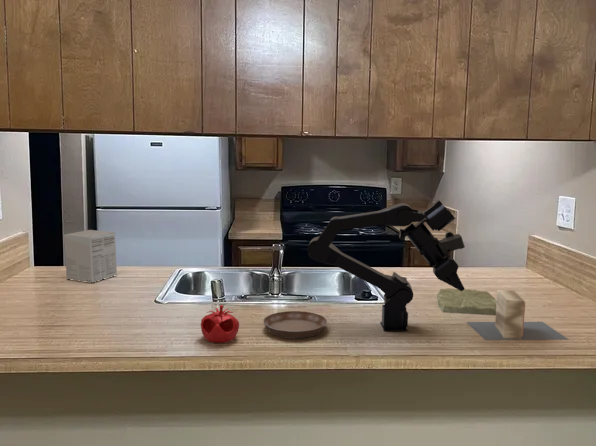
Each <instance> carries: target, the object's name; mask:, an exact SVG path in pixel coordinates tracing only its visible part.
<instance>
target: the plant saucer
mask: <svg viewBox="0 0 596 446" xmlns="http://www.w3.org/2000/svg"><path fill="white" fill-rule="evenodd" d="M262 321H263V324H264V326H265V328H266V329H267V330H268V331H269V332H270V333H271V334H272V335H274V336H276V335H277V337H279V336H280V338H284V337H285V339H306V337H307V338H311V337H313V336H316V335H318V334H319V333H321V331H322V330H323V329H324V328H325V326H326V324H327V318H325V316H322V315H321V314H318V313H315V312H310V311H301V310H288V311H287V310H286V311H281V312H280V311H279V312H276V313H272V314H268V315H267V316H266V317H265V316H264V318H263V320H262Z"/></svg>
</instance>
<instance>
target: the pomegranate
mask: <svg viewBox="0 0 596 446" xmlns="http://www.w3.org/2000/svg"><path fill="white" fill-rule="evenodd" d="M223 309H224V304H223V305H219V308H218V307H217V308H215V311H216V312H215V311H213V310H210V311H208V312H206V314H207V313H208V314H207V315H205V316H203V317H202V318H201V321H200V328H201V333H202V335H203V337H204V339H205V341H207V342H209V343H211V342H213V343H212V344H218V343H219V344H225V342H227V343H229V342H232V341H234V340H235V338H236V337H237V334H238V332H239V329H240V322H239V320H238V319H237V318H236V317H235V316H233V315H232V314H233V311H230V310H228V308H225V309H224V310H223ZM215 342H216V343H215Z"/></svg>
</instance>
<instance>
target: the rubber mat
mask: <svg viewBox="0 0 596 446" xmlns="http://www.w3.org/2000/svg"><path fill="white" fill-rule="evenodd" d="M466 324H468V326H470V327H471V328H472V329H473V330H474V331H475V332H476V333H477V334H478V335H479V336H481V338H483V339H484V340H485V341H541V340H542V341H545V340H546V341H547V340H548V341H551V340H552V341H554V340H555V341H559V340H560V341H562V340H563V341H564V340H566V341H567V340H568V341H570V340H569V338H567V337H566V336H565V335H563V334H562V333H560V332H559V331H557V330H555V329H554V328H553V327H551V326H550V325H548V324H547V323H545V322H544V321H524V328H523V337H522V339H507V338H503V336H502V335H501V334H500V332H499V331H498V329H497V328H496V326H495V321H466Z"/></svg>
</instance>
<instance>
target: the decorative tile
mask: <svg viewBox="0 0 596 446" xmlns="http://www.w3.org/2000/svg"><path fill="white" fill-rule="evenodd" d="M436 296H437V307H438V308H439V309H440V311H441V312H442V313H447V314H449V313H450V314H461V315H462V314H463V315H464V314H466V315H483V316H496V303H497V299H495V297H494V296H493V295H492V294H491V293H490V292H488V291H486V290H484V291H483V290H477V289H467V288H466V289H464V290H463V291H460V290H458V289H456V288H444V289H443V288H440V289H439V292H437V294H436Z"/></svg>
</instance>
